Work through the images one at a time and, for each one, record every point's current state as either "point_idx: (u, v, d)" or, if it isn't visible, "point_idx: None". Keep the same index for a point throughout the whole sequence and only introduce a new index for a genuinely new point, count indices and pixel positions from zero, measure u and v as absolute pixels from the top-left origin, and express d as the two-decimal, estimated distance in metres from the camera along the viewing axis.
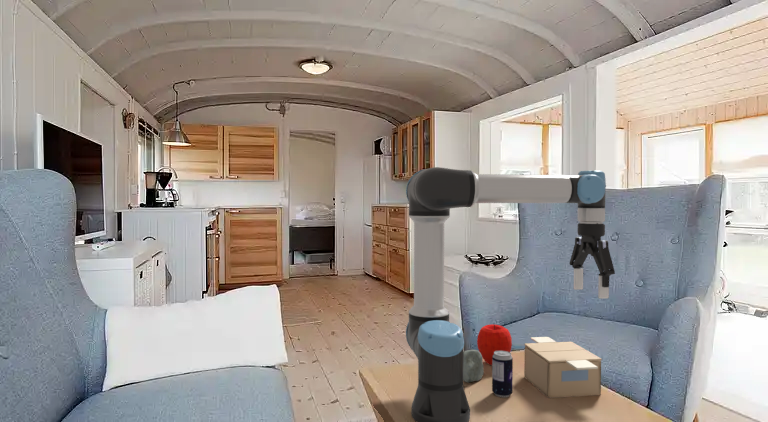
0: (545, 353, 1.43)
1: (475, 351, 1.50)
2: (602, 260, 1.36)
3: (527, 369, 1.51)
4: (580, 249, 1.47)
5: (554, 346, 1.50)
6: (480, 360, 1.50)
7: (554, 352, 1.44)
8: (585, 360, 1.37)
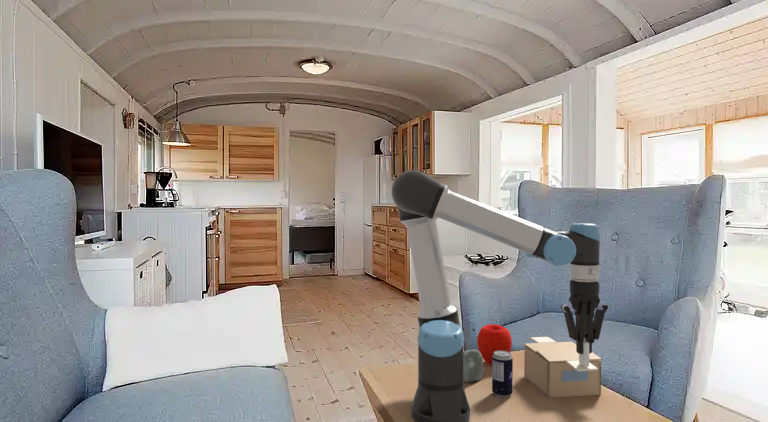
0: (545, 352, 1.43)
1: (475, 351, 1.50)
2: None
3: (527, 369, 1.51)
4: None
5: (554, 346, 1.50)
6: (480, 360, 1.50)
7: (554, 350, 1.44)
8: None
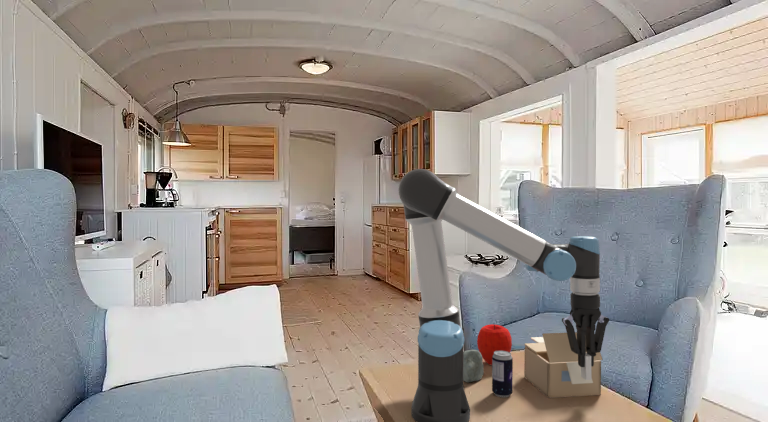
0: (550, 339, 1.40)
1: (475, 351, 1.50)
2: None
3: (527, 369, 1.51)
4: None
5: None
6: (480, 360, 1.50)
7: (560, 336, 1.40)
8: None
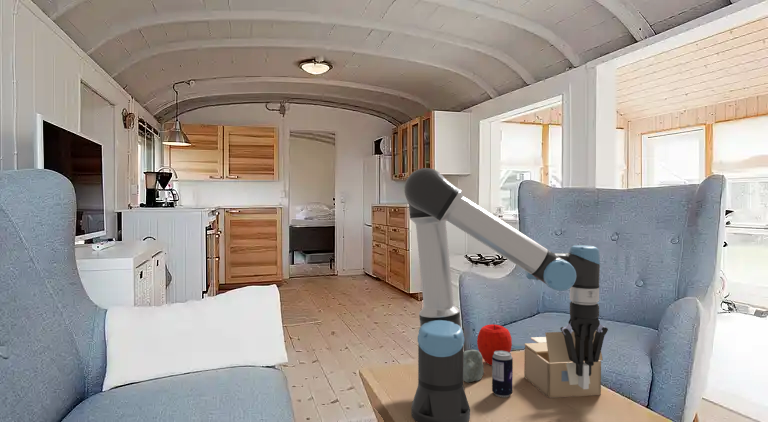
0: (553, 338, 1.38)
1: (475, 351, 1.50)
2: None
3: (527, 369, 1.51)
4: None
5: None
6: (480, 360, 1.50)
7: (563, 335, 1.39)
8: None
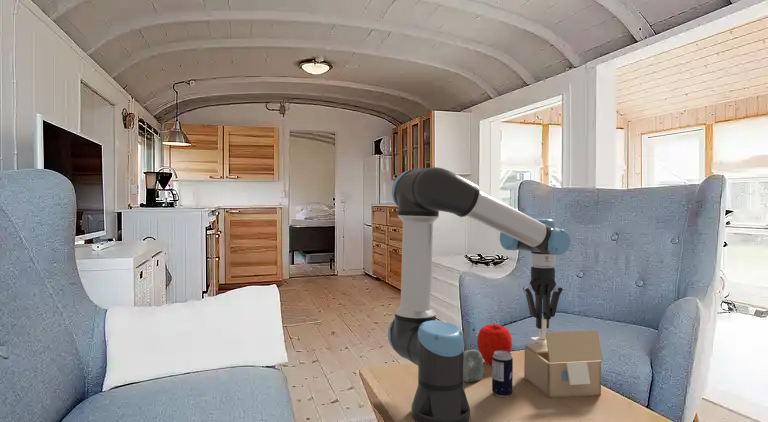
0: (553, 338, 1.38)
1: (475, 351, 1.50)
2: None
3: (527, 369, 1.51)
4: None
5: None
6: (480, 360, 1.50)
7: (563, 335, 1.39)
8: (585, 364, 1.37)
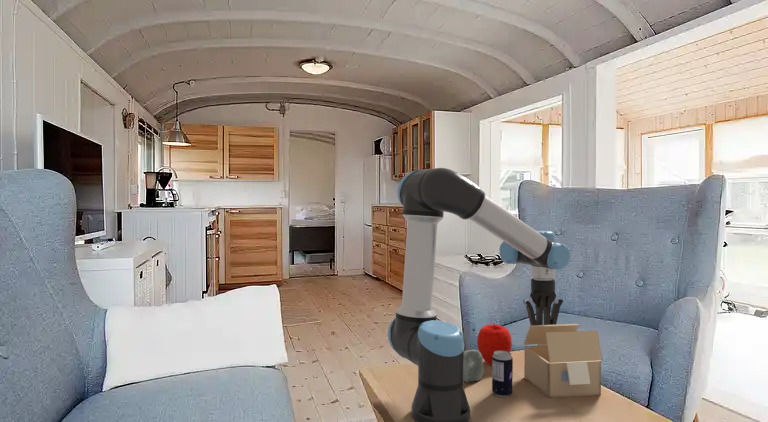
0: (553, 338, 1.38)
1: (475, 351, 1.50)
2: None
3: (527, 369, 1.51)
4: None
5: None
6: (480, 360, 1.50)
7: (563, 335, 1.39)
8: (585, 364, 1.37)
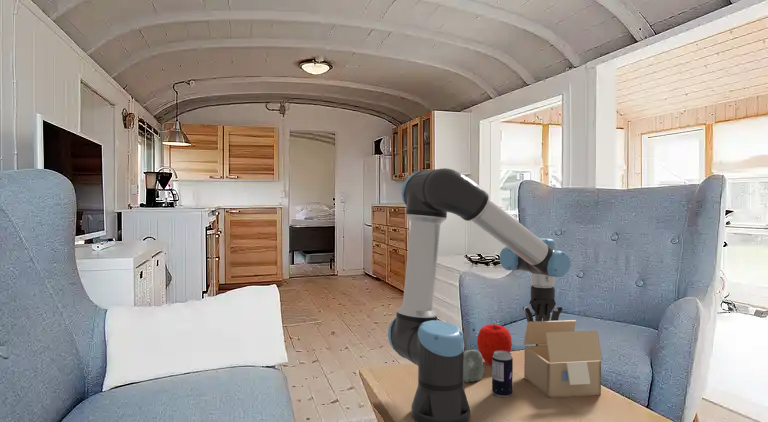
0: (553, 338, 1.38)
1: (475, 351, 1.50)
2: None
3: (527, 369, 1.51)
4: None
5: None
6: (480, 360, 1.50)
7: (563, 335, 1.39)
8: (585, 364, 1.37)
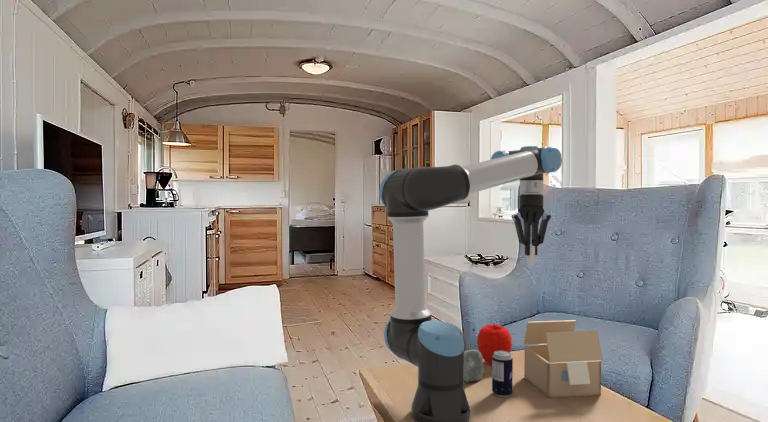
0: (553, 338, 1.38)
1: (475, 351, 1.50)
2: None
3: (527, 369, 1.51)
4: None
5: None
6: (480, 360, 1.50)
7: (563, 335, 1.39)
8: (585, 364, 1.37)
